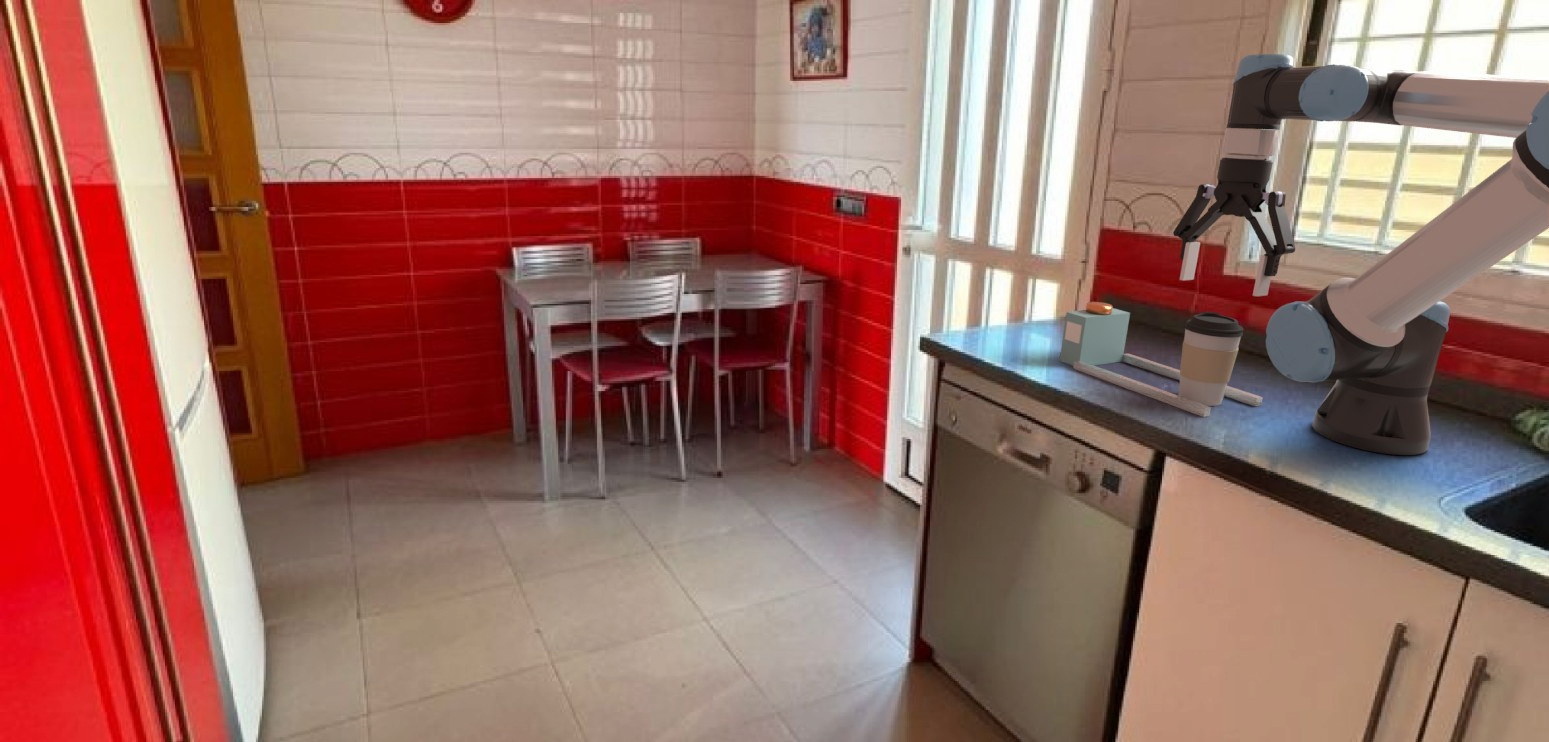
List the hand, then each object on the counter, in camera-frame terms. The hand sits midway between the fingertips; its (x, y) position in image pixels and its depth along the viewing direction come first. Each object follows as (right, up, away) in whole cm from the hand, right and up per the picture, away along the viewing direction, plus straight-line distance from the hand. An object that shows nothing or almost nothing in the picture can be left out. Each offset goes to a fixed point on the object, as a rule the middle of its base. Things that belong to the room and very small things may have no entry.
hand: (1221, 287), depth 141 cm
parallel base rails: (-4, -17, +13) cm, 21 cm away
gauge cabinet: (-12, -12, +27) cm, 32 cm away
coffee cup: (-1, -19, +6) cm, 20 cm away
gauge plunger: (-12, -7, +25) cm, 29 cm away
